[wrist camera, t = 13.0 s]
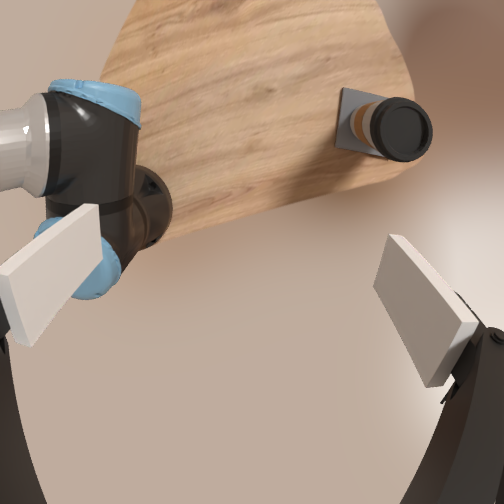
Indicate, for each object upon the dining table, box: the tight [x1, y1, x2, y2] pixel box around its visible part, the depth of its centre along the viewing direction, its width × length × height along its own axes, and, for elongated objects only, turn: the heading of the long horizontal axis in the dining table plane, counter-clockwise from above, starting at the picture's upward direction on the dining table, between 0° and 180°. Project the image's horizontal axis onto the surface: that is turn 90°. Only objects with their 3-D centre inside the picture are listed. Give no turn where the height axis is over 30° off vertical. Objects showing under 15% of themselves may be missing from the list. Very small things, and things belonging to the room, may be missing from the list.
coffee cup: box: [350, 97, 433, 162], centre depth 39 cm, size 8×8×15 cm
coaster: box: [335, 87, 389, 157], centre depth 46 cm, size 10×10×1 cm
